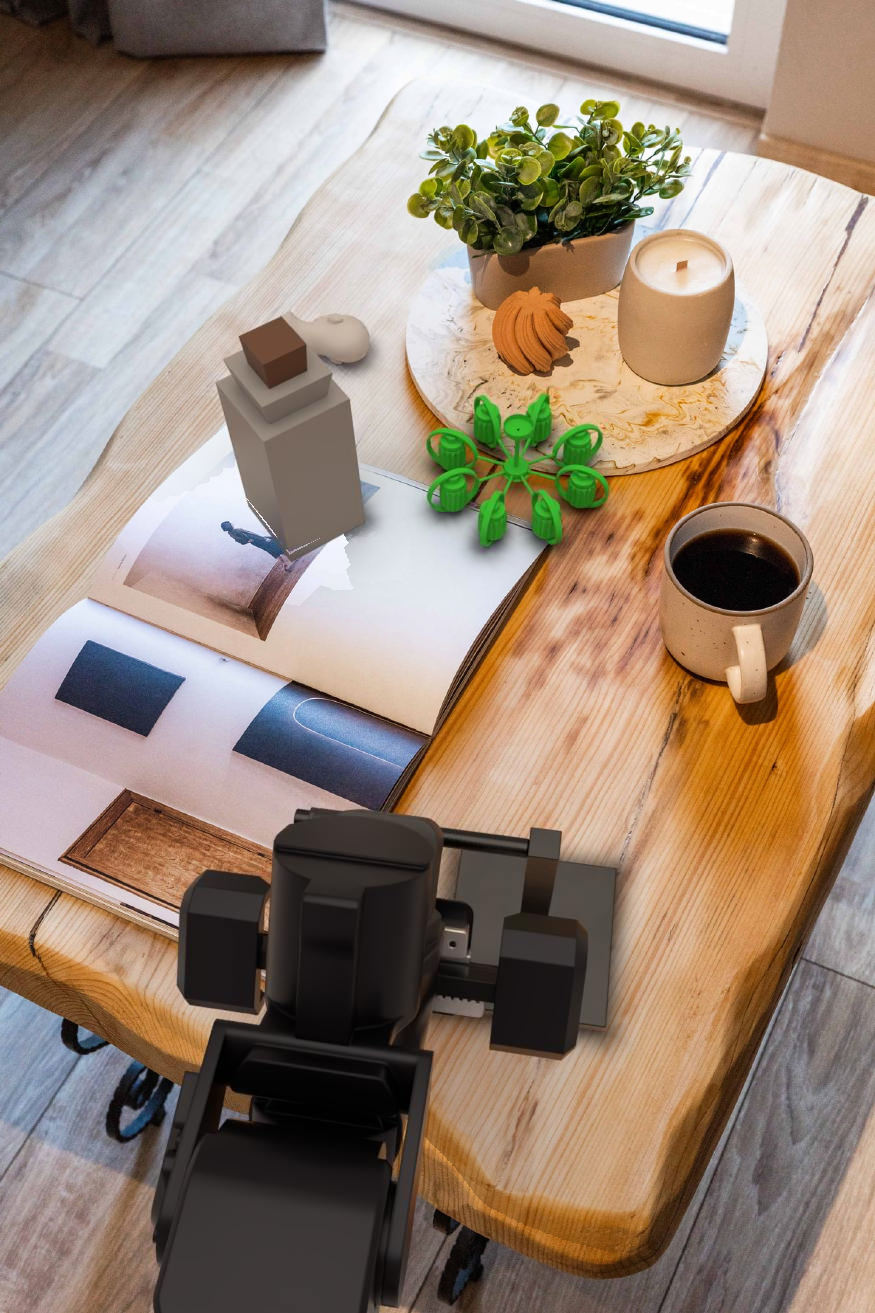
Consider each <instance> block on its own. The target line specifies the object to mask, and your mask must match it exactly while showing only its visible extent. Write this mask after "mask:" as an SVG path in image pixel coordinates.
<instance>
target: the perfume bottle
mask: <svg viewBox="0 0 875 1313" xmlns="http://www.w3.org/2000/svg"><path fill="white" fill-rule="evenodd" d="M238 340H239V343H240V345H241V348H242V349H241V350H239V351H237V352H235V353H232V354H230V355H228V356H227V357H224V358H222V361H223V363H224V364H225V366H226V368H227V369H228V371H229V373H230V374H229V375H227V376H225V377H223V378H221V379H219V380H216V381H215V387H216V390H217V393H218V397H219V401H220V405H221V409H222V412H223V417H224V420H225V425H226V428H227V431H228V435H229V440H230V442H231V446H232V450H233V454H234V457H235V461H236V466H237V468H238V473H239V477H240V480H241V484H242V488H243V491H244V495H245V499H246V498H247V499H248V500H249V501H248V500H247V499H246V503H247V506H248V508H249V510H251V512H252V513H253V515H254V516H255V517H256V519H257V520H258V521H259V522H260V524H261V525H262V527H263V528H264V529H265V530H266V531H267V533H268V534H269V535H270V537H271V538H272V539H273V541H274V542H275V543H276V545H277V546H278V547H279V549H280V550H281V551H282V552H283V554H284V555H285V557H286V558H287V559H288V560H289V562H290V563H293V562H295V561H297V560H298V559H300V558H302V557H304V556H306V555H308V554H310V553H312V552H313V551H316V550H317V549H319V548H321V547H322V546H324V545H326V544H328V543H330V542H332V541H333V540H335V539H337V538H339V537H341V536H343V535H345V534H346V533H348V532H351V531H353V530H354V529H356V528H358V527H360V526H361V525H363V524H365V523H366V516H365V507H364V500H363V499H364V498H363V492H362V484H361V476H360V469H359V461H358V460H359V459H358V453H357V452H358V451H357V445H356V437H355V428H354V422H353V413H352V405H351V398H350V397H349V396H348V395H347V393H345V391H344V390H343V389H342V387H340V386H339V384H338V383H337V382H336V381H335V380H334V379H333V378H332V377H333V374H334V372H333V371H332V370H331V369H330V368H329V366H327V364H326V363H325V362H324V361H323V360H322V359H321V357H319V355H317V354H316V353H315V352H314V351H313V350H312V349H311V348H310V346H309V345H308V344H307V343H306V342H305V341H304V340H303V339H302V337H301V336H300V335H299V334H298V333H297V332H296V331H295V330H294V329H293V327H291V326H290V325H289V324H288V323H287V322H286V321H285V320H284V319H283V317H282V315H280V316H278V317H276V318H273V319H272V320H270V321H268V322H266V323H264V324H262V325H258V326H257V327H255V328H253V329H251V330H249V331H247V332H244V333H242V334H240V335H238ZM249 502H250V503H251V504H252V505H253V506H254V508H255V509H256V510H257V511H258V513H259V514H260V515H261V516H262V517H263V519H264V520H265V521H266V522H267V524H268V525H269V526H270V528H271V529H272V530H273V532H274V533H275V534H276V536H277V537H278V539H279V540H280V541H281V542H282V543H283V545H284V546H285V548H286V549H287V550H288V551H289V552H290V551H293V550H294V549H297V548H299V547H301V546H304V545H306V544H308V543H310V544H308V545H307V546H305V547H303V548H301V549H299V550H297V551H295V552H294V553H292V554H290V555H289V553H288V552H287V551H286V550H285V548H284V547H283V546H282V544H281V543H280V542H279V540H278V539H277V538H276V536H275V535H274V534H273V533H272V531H271V530H270V529H269V527H268V526H267V525H266V523H265V522H264V521H263V520H262V518H261V517H260V516H259V514H258V513H257V512H256V510H255V509H254V508H253V507H252V505H251V504H250V503H249ZM319 538H320V539H319ZM317 539H318V540H317ZM315 540H316V541H315ZM313 541H314V542H313ZM311 542H312V543H311Z"/></svg>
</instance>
